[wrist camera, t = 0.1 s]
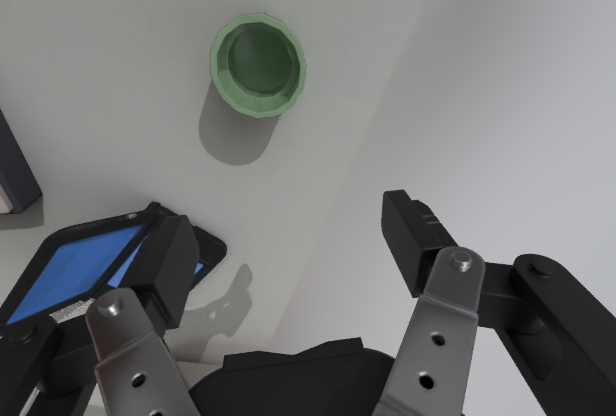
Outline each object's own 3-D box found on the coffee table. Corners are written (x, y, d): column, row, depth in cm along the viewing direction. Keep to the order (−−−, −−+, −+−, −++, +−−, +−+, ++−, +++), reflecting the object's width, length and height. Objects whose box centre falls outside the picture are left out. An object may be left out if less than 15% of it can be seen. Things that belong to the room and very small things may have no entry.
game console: (160, 314, 39) (133, 388, 31) (43, 266, 32) (-26, 344, 25) (234, 244, 33) (222, 313, 26) (110, 170, 27) (47, 233, 20)
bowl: (211, 17, 21) (196, 20, 17) (297, 9, 21) (302, 9, 17) (230, 103, 25) (222, 122, 21) (304, 95, 25) (310, 112, 21)
